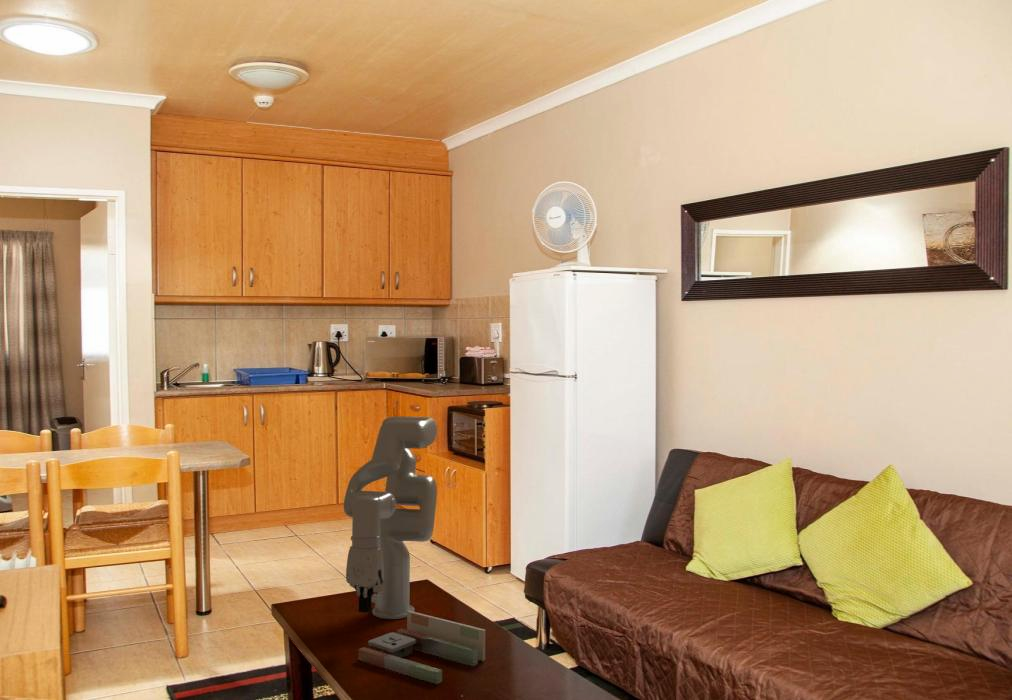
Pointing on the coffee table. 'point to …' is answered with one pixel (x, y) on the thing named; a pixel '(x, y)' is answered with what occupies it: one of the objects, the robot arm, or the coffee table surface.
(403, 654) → the electrical switch
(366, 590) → the robot arm
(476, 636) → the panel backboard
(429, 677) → the near rail
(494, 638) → the coffee table surface
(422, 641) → the far rail
